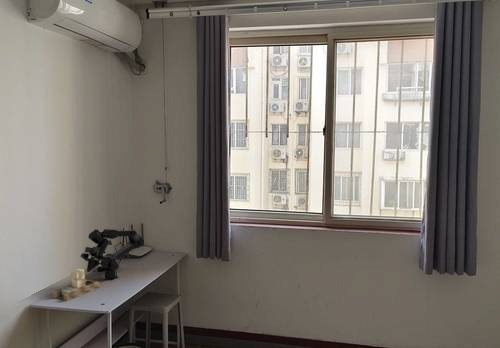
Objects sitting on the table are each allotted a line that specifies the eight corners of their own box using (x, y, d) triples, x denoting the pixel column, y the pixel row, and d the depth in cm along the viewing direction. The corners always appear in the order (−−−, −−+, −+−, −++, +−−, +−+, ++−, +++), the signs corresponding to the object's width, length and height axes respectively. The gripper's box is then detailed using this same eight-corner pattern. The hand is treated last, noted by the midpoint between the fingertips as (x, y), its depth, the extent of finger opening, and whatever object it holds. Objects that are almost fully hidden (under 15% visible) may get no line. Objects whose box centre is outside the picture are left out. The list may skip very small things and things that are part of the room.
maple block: (79, 284, 241) (78, 268, 240) (85, 285, 238) (84, 269, 238) (71, 287, 237) (70, 271, 236) (77, 288, 234) (76, 272, 233)
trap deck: (85, 284, 249) (85, 279, 249) (100, 287, 243) (99, 282, 243) (52, 297, 230) (51, 292, 230) (67, 300, 224) (66, 295, 224)
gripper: (81, 239, 250) (67, 263, 242) (103, 242, 241) (89, 266, 233) (93, 249, 258) (80, 272, 249) (115, 251, 249) (102, 276, 240)
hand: (87, 271), depth 243 cm, fingers closed
